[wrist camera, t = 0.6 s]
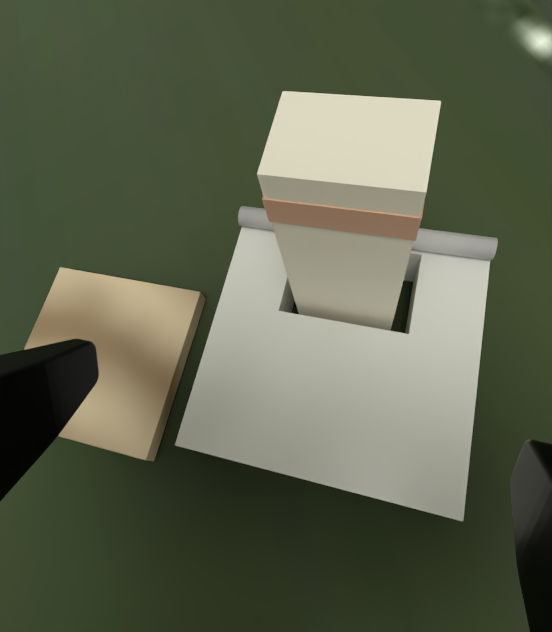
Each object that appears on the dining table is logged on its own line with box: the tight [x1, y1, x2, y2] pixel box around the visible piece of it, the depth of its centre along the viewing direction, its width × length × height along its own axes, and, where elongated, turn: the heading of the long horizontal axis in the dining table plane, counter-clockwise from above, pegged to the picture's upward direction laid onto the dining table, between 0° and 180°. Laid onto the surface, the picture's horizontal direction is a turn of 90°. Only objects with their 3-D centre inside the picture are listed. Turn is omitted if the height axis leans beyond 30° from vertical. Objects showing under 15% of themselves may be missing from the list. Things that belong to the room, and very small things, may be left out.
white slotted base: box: [175, 206, 498, 521], centre depth 21 cm, size 12×12×4 cm
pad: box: [24, 267, 206, 461], centre depth 24 cm, size 9×9×1 cm
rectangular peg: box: [257, 91, 441, 331], centre depth 18 cm, size 3×5×12 cm
